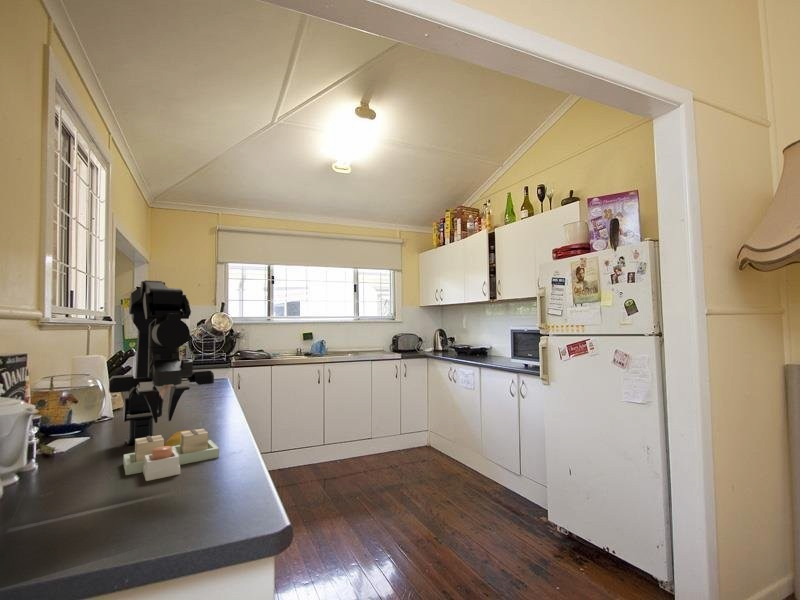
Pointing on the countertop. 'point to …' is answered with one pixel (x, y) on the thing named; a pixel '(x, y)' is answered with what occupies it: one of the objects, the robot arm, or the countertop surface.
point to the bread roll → (174, 439)
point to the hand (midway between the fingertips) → (162, 421)
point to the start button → (161, 452)
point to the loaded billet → (147, 446)
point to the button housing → (161, 467)
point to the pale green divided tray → (184, 458)
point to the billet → (193, 440)
